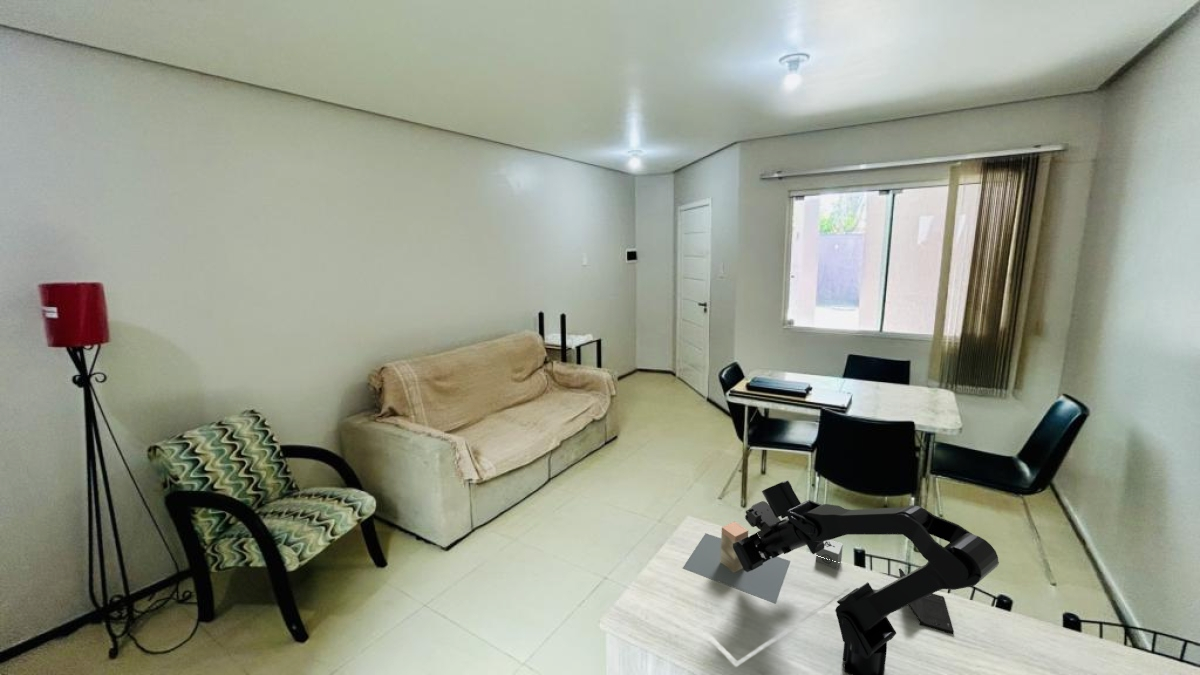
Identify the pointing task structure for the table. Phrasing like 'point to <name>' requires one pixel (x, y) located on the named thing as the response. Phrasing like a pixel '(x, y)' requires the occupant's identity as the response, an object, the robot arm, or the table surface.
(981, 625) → the table surface
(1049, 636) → the table surface
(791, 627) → the table surface
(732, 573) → the slate mat
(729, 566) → the beech block
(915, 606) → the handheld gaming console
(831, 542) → the grey printed cube
